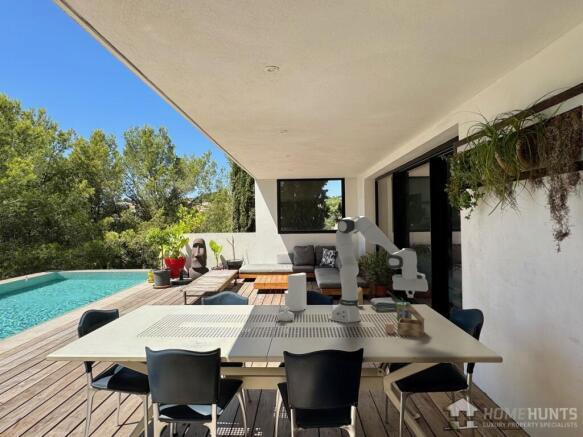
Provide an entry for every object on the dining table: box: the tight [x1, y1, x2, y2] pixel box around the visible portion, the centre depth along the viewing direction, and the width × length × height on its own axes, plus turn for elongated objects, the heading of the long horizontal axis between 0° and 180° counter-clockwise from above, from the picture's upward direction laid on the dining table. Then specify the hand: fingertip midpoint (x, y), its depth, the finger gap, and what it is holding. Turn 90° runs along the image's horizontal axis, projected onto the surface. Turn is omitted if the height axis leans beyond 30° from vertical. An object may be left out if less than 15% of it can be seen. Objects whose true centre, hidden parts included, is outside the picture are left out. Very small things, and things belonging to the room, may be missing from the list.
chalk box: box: [395, 297, 413, 322], centre depth 235 cm, size 9×9×15 cm
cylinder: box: [284, 272, 308, 312], centre depth 272 cm, size 17×17×28 cm
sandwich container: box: [358, 286, 364, 308], centre depth 278 cm, size 9×15×15 cm, turn 95°
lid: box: [405, 301, 426, 324], centre depth 206 cm, size 14×11×1 cm
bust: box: [276, 305, 295, 322], centre depth 236 cm, size 12×8×11 cm, turn 92°
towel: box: [370, 297, 397, 312], centre depth 268 cm, size 15×18×8 cm
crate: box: [397, 318, 425, 338], centre depth 207 cm, size 14×11×7 cm
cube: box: [384, 321, 395, 334], centre depth 209 cm, size 4×4×6 cm
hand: (410, 297), depth 207 cm, fingers closed
